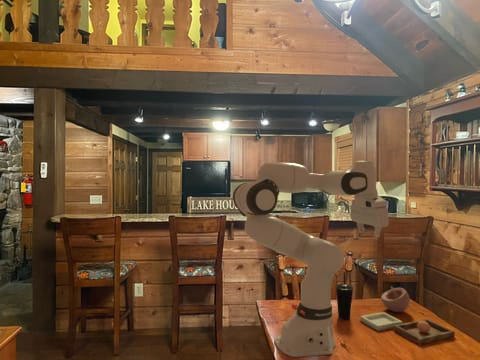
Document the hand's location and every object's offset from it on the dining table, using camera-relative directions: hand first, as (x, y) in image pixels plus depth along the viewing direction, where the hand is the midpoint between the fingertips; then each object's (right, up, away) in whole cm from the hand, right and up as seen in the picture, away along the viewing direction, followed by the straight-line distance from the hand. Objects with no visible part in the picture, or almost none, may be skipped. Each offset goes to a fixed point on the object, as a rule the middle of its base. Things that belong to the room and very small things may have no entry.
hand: (369, 234), depth 128 cm
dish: (+21, -39, -2) cm, 44 cm away
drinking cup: (-6, -39, +13) cm, 42 cm away
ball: (+21, -36, -2) cm, 42 cm away
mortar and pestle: (+20, -39, +20) cm, 49 cm away
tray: (+8, -39, +7) cm, 40 cm away
